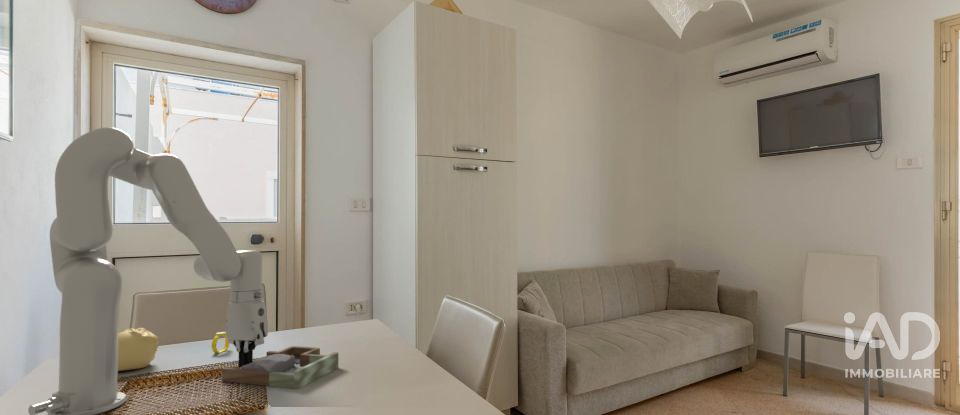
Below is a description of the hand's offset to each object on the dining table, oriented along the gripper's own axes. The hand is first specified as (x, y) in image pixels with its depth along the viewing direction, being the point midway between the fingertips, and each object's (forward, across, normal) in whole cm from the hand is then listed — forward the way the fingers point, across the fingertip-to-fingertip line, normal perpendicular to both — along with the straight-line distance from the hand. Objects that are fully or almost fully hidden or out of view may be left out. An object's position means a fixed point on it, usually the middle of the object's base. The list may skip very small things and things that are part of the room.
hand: (245, 366), depth 121 cm
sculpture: (+1, +32, +6) cm, 33 cm away
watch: (+1, +21, -13) cm, 25 cm away
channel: (+1, -12, -3) cm, 12 cm away
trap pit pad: (+1, -8, -10) cm, 13 cm away
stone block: (+2, -6, 0) cm, 7 cm away
